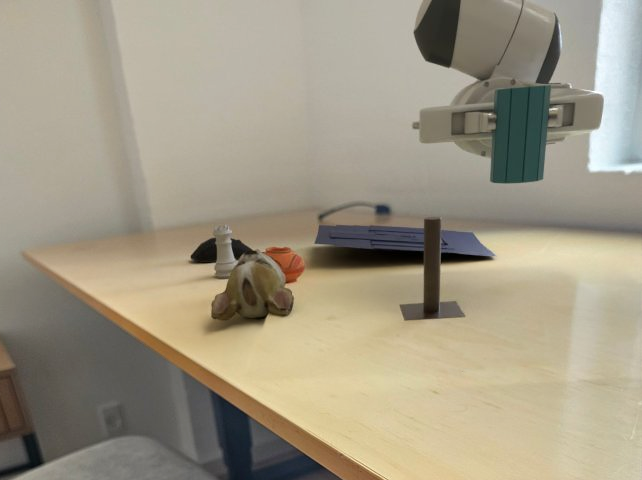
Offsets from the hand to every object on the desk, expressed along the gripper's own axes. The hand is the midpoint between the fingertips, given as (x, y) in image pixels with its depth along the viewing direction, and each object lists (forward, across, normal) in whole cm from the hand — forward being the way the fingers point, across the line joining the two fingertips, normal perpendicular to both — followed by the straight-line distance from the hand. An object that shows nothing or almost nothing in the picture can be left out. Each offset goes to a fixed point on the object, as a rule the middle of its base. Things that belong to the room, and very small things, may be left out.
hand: (522, 119), depth 69 cm
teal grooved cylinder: (-1, 0, +6) cm, 6 cm away
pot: (-22, -29, +21) cm, 42 cm away
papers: (-45, -9, +21) cm, 51 cm away
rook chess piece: (-34, -39, +21) cm, 56 cm away
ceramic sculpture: (-8, -31, +21) cm, 39 cm away
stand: (0, -9, +21) cm, 23 cm away
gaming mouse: (-50, -41, +21) cm, 68 cm away
